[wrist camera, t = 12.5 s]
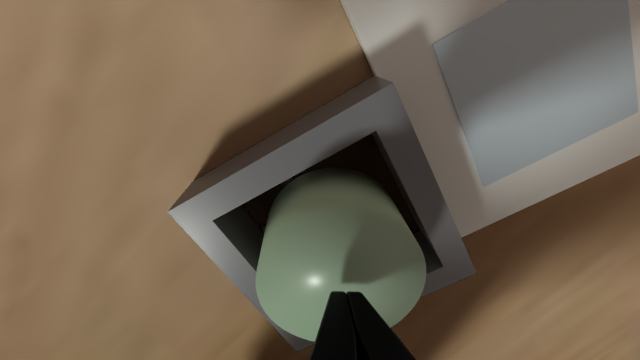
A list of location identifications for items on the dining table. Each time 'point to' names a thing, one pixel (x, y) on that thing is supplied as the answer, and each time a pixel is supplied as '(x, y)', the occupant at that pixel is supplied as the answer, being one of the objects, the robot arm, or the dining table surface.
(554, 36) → the colouring sheet
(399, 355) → the robot arm
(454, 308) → the dining table surface
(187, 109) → the dining table surface
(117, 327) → the dining table surface
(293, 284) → the button
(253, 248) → the button housing
